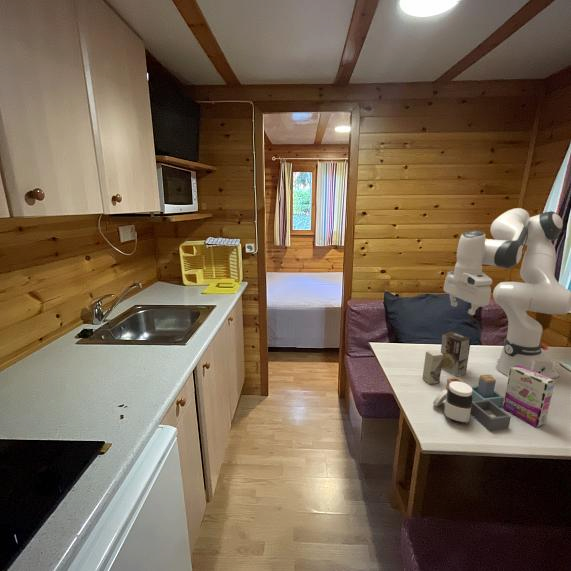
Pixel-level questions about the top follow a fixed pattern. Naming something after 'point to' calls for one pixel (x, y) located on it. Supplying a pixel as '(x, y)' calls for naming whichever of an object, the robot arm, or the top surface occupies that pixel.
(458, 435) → the top surface
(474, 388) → the trough
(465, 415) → the spread jar
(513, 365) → the robot arm
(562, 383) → the top surface
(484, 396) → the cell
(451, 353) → the coffee box
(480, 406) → the box
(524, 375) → the candy bar box
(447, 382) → the cup
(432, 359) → the box
